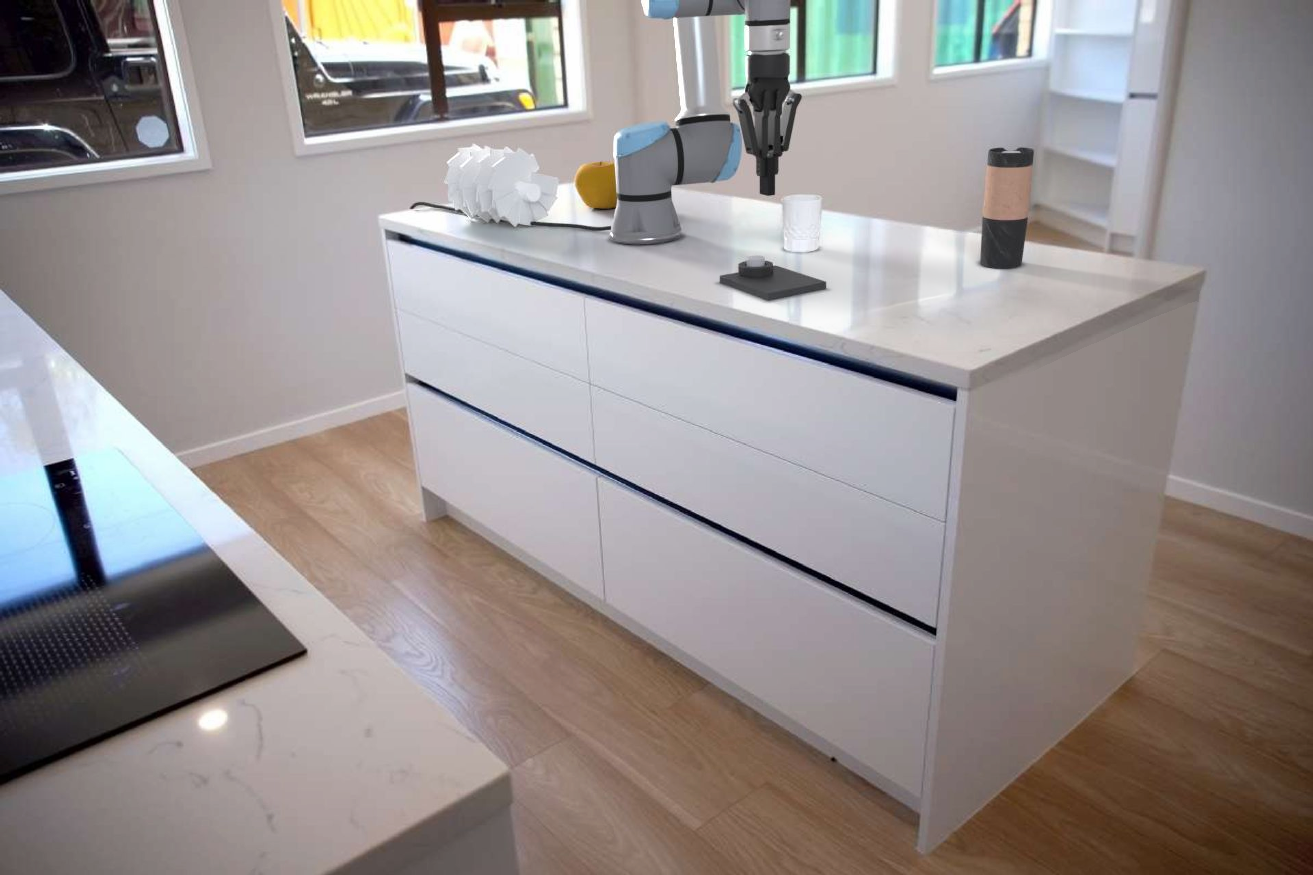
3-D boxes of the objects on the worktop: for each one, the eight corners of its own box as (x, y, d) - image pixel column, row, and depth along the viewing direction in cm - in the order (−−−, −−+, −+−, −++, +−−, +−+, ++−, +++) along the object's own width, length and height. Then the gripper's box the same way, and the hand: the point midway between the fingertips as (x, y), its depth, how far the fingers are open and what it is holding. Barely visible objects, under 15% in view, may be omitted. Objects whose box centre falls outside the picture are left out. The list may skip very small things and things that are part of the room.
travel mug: (1000, 271, 175) (1011, 154, 167) (969, 263, 181) (978, 150, 173) (1032, 264, 178) (1044, 149, 170) (1000, 257, 185) (1010, 145, 177)
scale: (718, 282, 177) (717, 266, 176) (773, 272, 182) (773, 256, 181) (767, 301, 164) (767, 284, 163) (826, 289, 169) (826, 272, 168)
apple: (627, 212, 243) (624, 164, 238) (574, 214, 243) (570, 166, 239) (629, 202, 255) (627, 156, 250) (579, 204, 255) (575, 159, 250)
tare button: (743, 265, 177) (742, 257, 176) (758, 263, 178) (758, 254, 177) (753, 269, 174) (753, 260, 173) (768, 266, 175) (768, 257, 175)
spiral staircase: (522, 248, 229) (458, 230, 245) (573, 204, 236) (508, 189, 252) (488, 180, 217) (424, 166, 233) (543, 136, 224) (477, 125, 240)
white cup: (820, 253, 194) (821, 201, 190) (779, 253, 195) (779, 202, 191) (822, 244, 201) (823, 194, 197) (783, 244, 202) (783, 194, 199)
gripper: (746, 56, 162) (747, 202, 172) (812, 50, 167) (809, 192, 177) (722, 54, 168) (725, 196, 178) (787, 49, 173) (785, 187, 183)
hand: (767, 194), depth 177 cm, fingers closed
